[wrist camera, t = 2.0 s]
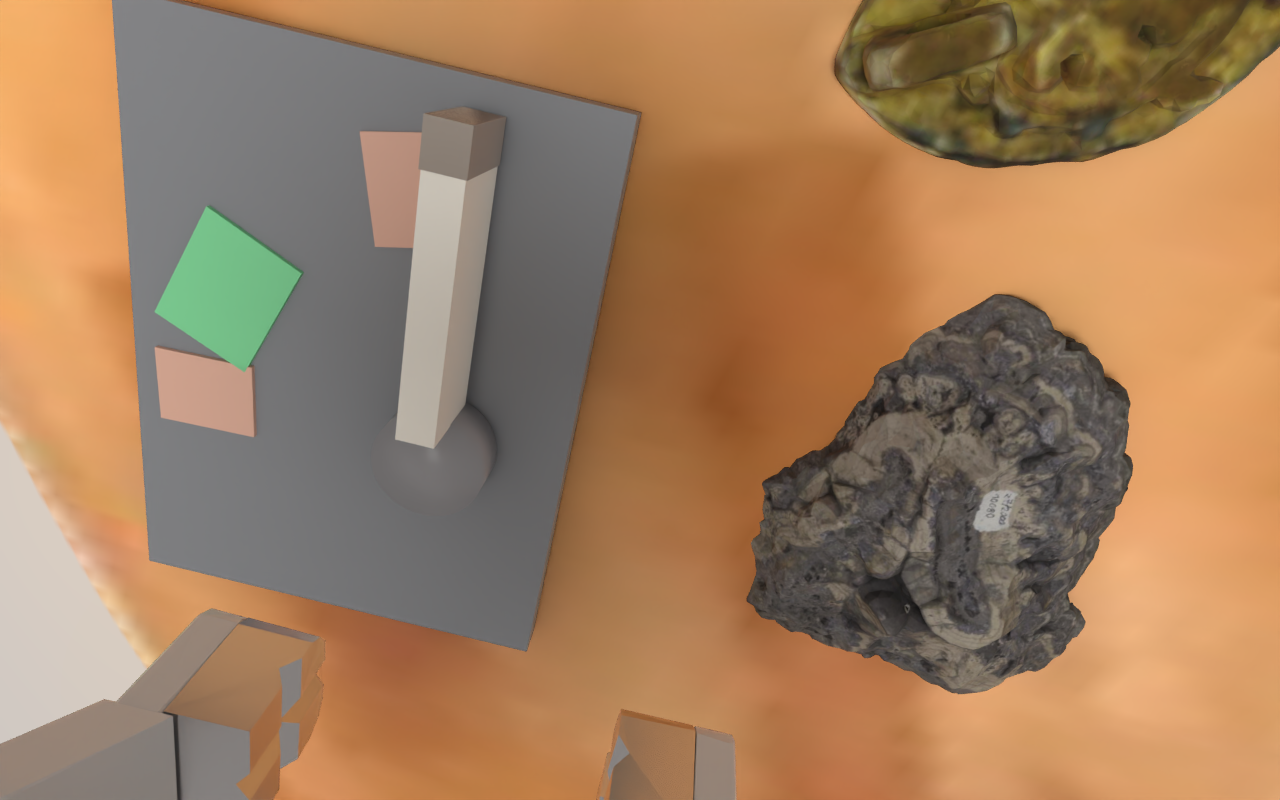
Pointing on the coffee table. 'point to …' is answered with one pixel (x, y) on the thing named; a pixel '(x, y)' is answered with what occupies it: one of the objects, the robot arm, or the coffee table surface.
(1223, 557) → the coffee table surface
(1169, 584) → the coffee table surface
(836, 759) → the coffee table surface
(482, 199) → the control lever
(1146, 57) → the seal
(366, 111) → the dial board
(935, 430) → the fossil rock
